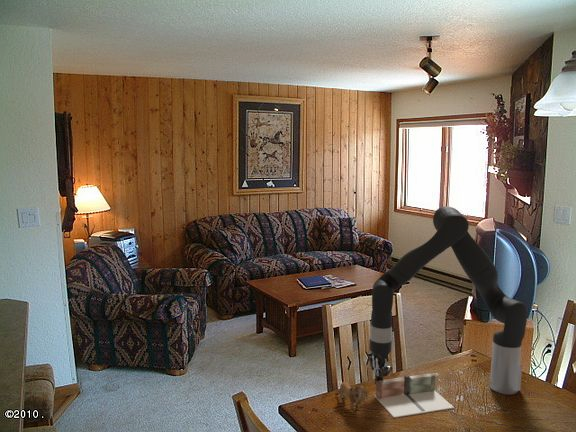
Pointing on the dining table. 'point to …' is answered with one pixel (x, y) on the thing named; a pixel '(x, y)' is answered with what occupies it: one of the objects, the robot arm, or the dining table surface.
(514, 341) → the robot arm
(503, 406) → the dining table surface
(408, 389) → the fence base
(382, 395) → the fence panel
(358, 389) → the lion figurine
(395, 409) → the card
